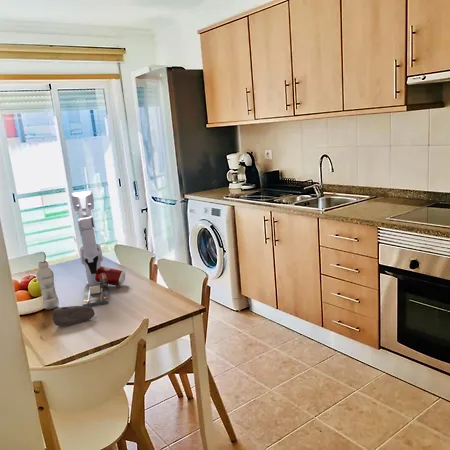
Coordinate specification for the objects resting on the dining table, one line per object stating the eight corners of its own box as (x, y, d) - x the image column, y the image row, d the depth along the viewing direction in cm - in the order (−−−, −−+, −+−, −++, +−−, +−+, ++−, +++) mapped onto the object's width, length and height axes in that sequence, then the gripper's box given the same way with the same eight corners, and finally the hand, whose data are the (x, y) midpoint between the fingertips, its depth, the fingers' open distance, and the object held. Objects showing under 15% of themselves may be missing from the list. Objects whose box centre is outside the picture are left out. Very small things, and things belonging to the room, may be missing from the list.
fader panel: (85, 289, 202) (85, 284, 202) (108, 285, 204) (107, 280, 204) (82, 308, 180) (82, 302, 180) (108, 303, 183) (107, 298, 182)
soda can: (126, 275, 206) (102, 270, 207) (124, 268, 200) (99, 263, 201) (121, 289, 202) (96, 284, 203) (118, 282, 196) (93, 277, 197)
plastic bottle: (54, 311, 179) (45, 264, 175) (39, 311, 181) (30, 264, 176) (62, 304, 186) (54, 259, 181) (48, 304, 187) (40, 259, 182)
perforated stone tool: (95, 316, 171) (93, 300, 169) (95, 322, 166) (93, 305, 164) (55, 324, 167) (52, 307, 166) (53, 329, 162) (50, 312, 161)
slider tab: (91, 291, 193) (89, 284, 192) (100, 290, 194) (99, 282, 193) (90, 294, 190) (89, 286, 189) (100, 292, 191) (99, 284, 190)
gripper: (98, 246, 187) (102, 277, 190) (99, 239, 201) (103, 267, 204) (81, 249, 186) (86, 279, 189) (83, 241, 199) (87, 269, 202)
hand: (93, 273), depth 196 cm, fingers closed
